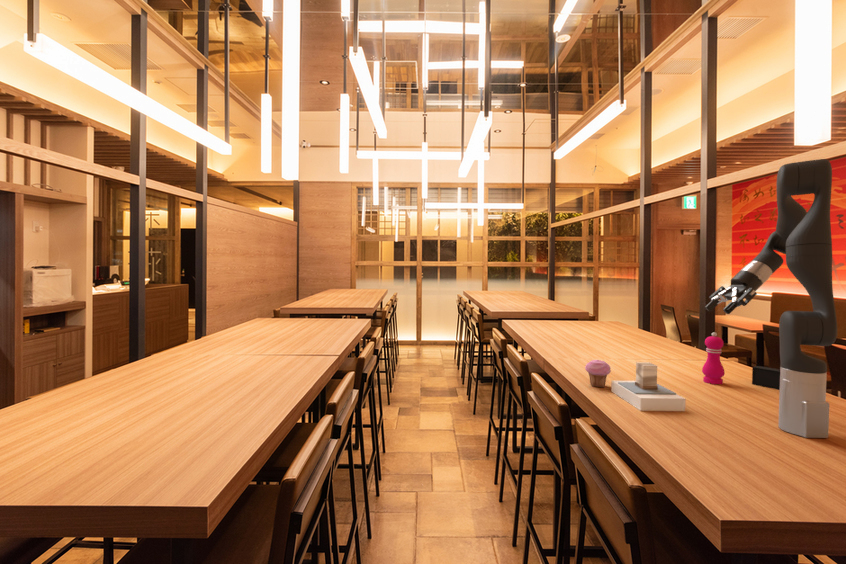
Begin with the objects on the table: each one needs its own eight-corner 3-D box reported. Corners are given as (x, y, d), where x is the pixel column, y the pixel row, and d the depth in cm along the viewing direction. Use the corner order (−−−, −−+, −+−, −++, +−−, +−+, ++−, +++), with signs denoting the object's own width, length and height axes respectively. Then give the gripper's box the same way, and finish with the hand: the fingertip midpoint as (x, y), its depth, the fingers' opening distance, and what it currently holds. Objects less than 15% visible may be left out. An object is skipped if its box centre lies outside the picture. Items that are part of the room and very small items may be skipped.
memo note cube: (657, 389, 132) (658, 365, 132) (642, 389, 132) (643, 365, 132) (649, 385, 137) (649, 362, 137) (634, 385, 137) (635, 362, 137)
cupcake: (585, 387, 149) (586, 361, 149) (584, 381, 158) (584, 356, 157) (611, 390, 146) (612, 363, 146) (609, 383, 155) (609, 358, 154)
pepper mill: (723, 381, 158) (724, 331, 158) (725, 386, 152) (726, 334, 152) (701, 379, 162) (702, 330, 162) (702, 383, 156) (703, 332, 156)
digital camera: (791, 389, 149) (792, 370, 149) (786, 391, 146) (787, 372, 146) (757, 382, 158) (758, 365, 158) (751, 384, 155) (752, 366, 155)
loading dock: (685, 411, 125) (685, 397, 125) (640, 410, 125) (640, 396, 125) (649, 391, 145) (650, 379, 145) (611, 391, 145) (611, 379, 145)
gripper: (727, 269, 141) (694, 301, 142) (761, 269, 127) (724, 304, 127) (742, 284, 141) (708, 316, 142) (777, 286, 127) (740, 321, 128)
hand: (716, 310), depth 135 cm, fingers open, 8 cm apart
